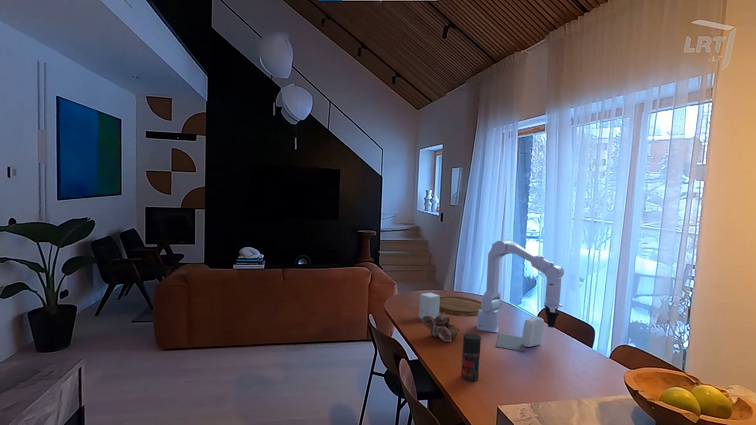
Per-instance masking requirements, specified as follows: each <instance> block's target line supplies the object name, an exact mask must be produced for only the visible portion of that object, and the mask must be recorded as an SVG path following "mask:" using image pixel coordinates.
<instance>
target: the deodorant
mask: <svg viewBox="0 0 756 425" xmlns="http://www.w3.org/2000/svg"><path fill="white" fill-rule="evenodd" d="M462 338H463V340H462V355H461V373H460V378H461V379H462V380H463V381H465V382H467V383H468V382H469V383H475V382H478V381H479V371H480V357H481V356H480V355H481V354H480V353H481V346H482V345H481V344H482V343H481V341H482V337H481V336H480V335H479V334H475V333H464V334H463V337H462Z"/></svg>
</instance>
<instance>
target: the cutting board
mask: <svg viewBox="0 0 756 425" xmlns="http://www.w3.org/2000/svg"><path fill="white" fill-rule="evenodd" d="M479 310H483V309H482V308H481V300H480V301H479V300H477V299H473V298H468V297H463V296H452V295H451V296H450V295H449V296H440V304H439V312H440V311H442V312H441V313H443V312H445V313H444V314H447V313H450V314H449V315H451V314H455V315H454V316H458V315H466V316H465V317H478V316H477V315H478V312H479Z"/></svg>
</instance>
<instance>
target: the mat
mask: <svg viewBox="0 0 756 425" xmlns="http://www.w3.org/2000/svg"><path fill="white" fill-rule="evenodd" d="M495 347H496V348H499V349H505V350H510V351H517V352H521V353H525V351H526V346H524V345H522V336H515V335H510V334H505V333H504V334H503V333H499V334H498V337H497V341H496V345H495Z"/></svg>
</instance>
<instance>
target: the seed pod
mask: <svg viewBox="0 0 756 425" xmlns="http://www.w3.org/2000/svg"><path fill="white" fill-rule="evenodd" d="M420 320H421V322H422V324H423V325H424V327H425V328H427V329H428V330H429V333H430V335H431V336H432V337H439V338H440V339H441V340H442V341H443V342H445V343H446V342H448V343H450V344H451V343H452V341H453V340H452V339H453V338H456V337H457V336H458V332H459V331H460V329H459V327H458V326H456V325H454V324H450V321H451V318H450V316H449V314H447V313H441V314H439V316H437V317H436V318H435V319H433V318H432V317H430V316H424V317H423V319H420Z"/></svg>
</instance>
